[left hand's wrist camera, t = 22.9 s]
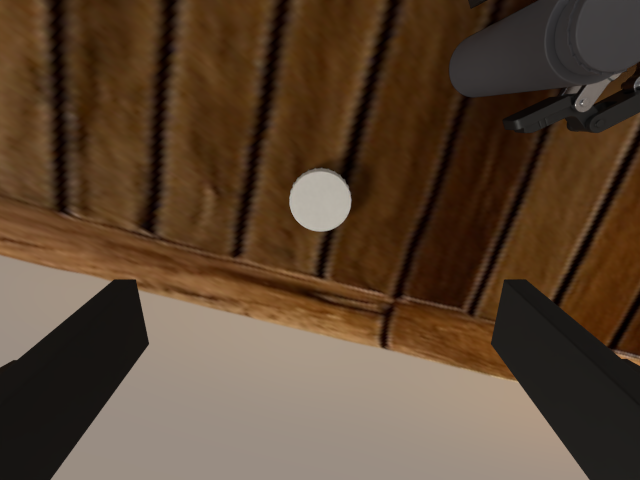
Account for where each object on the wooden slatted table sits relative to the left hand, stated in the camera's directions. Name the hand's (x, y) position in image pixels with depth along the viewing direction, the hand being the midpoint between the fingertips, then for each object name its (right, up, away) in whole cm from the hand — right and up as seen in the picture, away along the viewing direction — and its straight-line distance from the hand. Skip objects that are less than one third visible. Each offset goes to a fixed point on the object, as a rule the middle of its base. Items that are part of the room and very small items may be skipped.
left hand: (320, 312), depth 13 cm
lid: (0, +6, +19) cm, 20 cm away
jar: (+13, +17, +17) cm, 28 cm away
